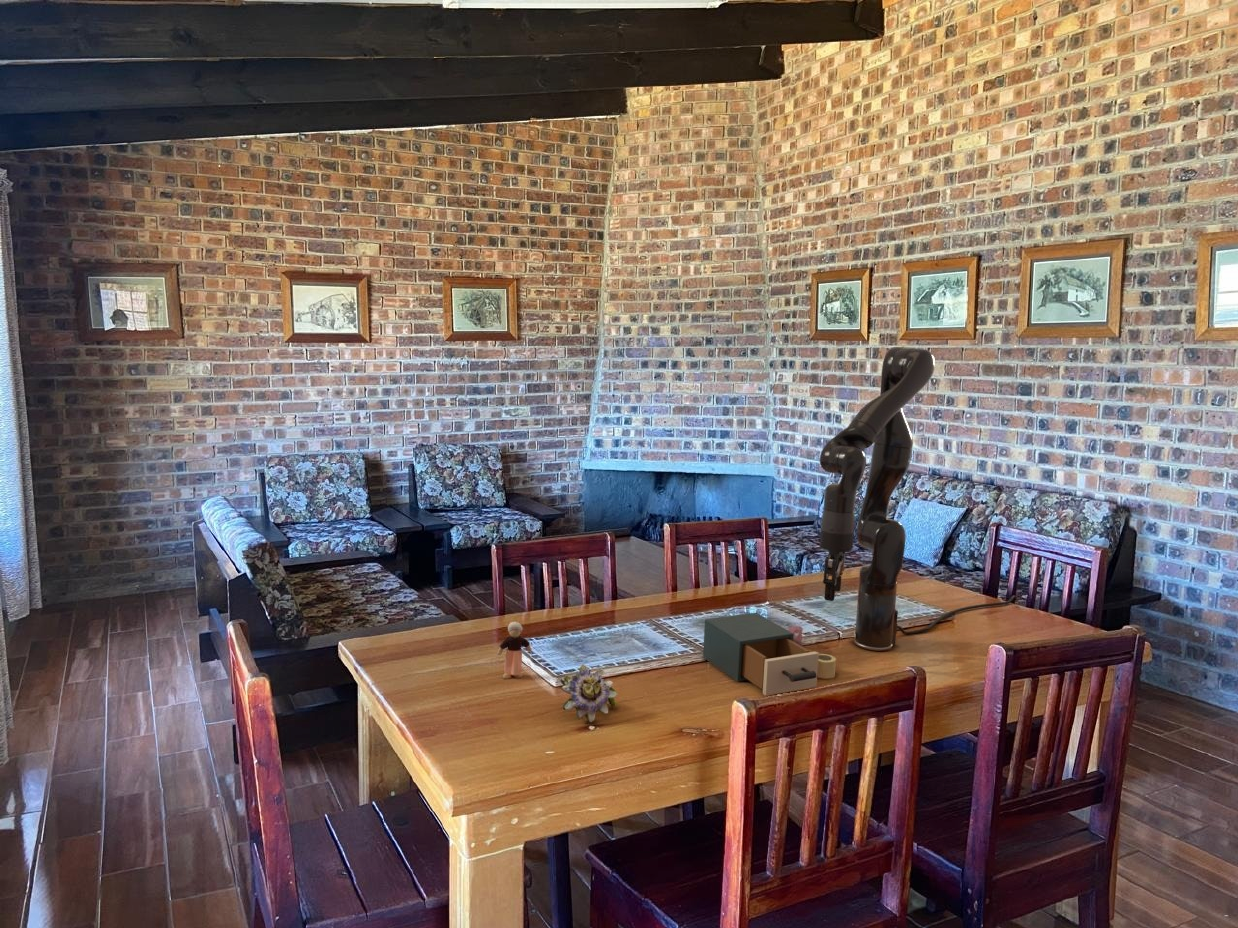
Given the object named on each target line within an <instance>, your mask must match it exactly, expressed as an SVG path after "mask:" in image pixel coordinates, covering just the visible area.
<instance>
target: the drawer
mask: <svg viewBox="0 0 1238 928" xmlns="http://www.w3.org/2000/svg"><path fill="white" fill-rule="evenodd" d="M819 654H820V653H819V652H818V651H810V650H809V649H807V648H805V647H803V645H802V646H800V645H798V644H797V643H795V642H793V641H792V640H790V639H788V638H782V639H775V640H768V641H761V642H755V643H748V644H743V646H742V664H741V675H742V676H743V677H745V678H746V679H748V680H747V681H748V682H751V683H752V684H753V685H754V686H756V687H758V688H759V689H760V690H762V695H763V696H766V697H767V696H773V695H778V694H784V693H789V692H794V691H795V692H796V691H800V690H805V689H811V688H816V687H817V685H818V677H817V672H818V658H819Z"/></svg>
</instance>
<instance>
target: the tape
mask: <svg viewBox="0 0 1238 928" xmlns="http://www.w3.org/2000/svg"><path fill="white" fill-rule="evenodd" d="M836 665H837V658H836V656H834V655H832V654H828V653H819V658H818V672H817V678H819V679H824V680H827V679H833V678H835V676H836V667H837V666H836Z"/></svg>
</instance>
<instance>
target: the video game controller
mask: <svg viewBox="0 0 1238 928" xmlns="http://www.w3.org/2000/svg"><path fill="white" fill-rule="evenodd" d="M787 630H788V631H790V632H792V633H793V634H794V638H793V642H795V643H797V644H798V645H800V646H802V647H803V645H804V643H803V642H804V641H803V636H802V635H803V630H804V629H803V628H802V626H799V625H796V624H794V625H791V626H790V628H788V629H787Z"/></svg>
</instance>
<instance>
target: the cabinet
mask: <svg viewBox="0 0 1238 928" xmlns="http://www.w3.org/2000/svg"><path fill="white" fill-rule="evenodd" d="M782 638H788V639H790V640H792V641H793V638H794V634H793V633H792V632H790V631H788V629H786V627H785V628H784V627H783V626H781V625H779V624H777V623H776V622H775V621H772V620H770V619H768V618H767V617H765V616H763V615H761V613H760V614H759V613H757V612H750V613H744V614H736V615H735V614H734V615H726V616H719V617H711V618H705V619H704V630H703V648H702V649H703V650H702V651H703V653H702V658H704V659H705V660H706V661H708V662H709V663H710V664H712V665H713V666H714V667H715V668H718V669H719V670H720V671H722V673H724V674H726V675H727V676H728V677H730V678H731V679H732V680H734V681H736V682H737V683H740V682H745V681H749V680H748V679H746V678H745V677H743V676H742V675H741V664H742V646H743V644H748V643H755V642H761V641H768V640H775V639H782Z"/></svg>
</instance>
